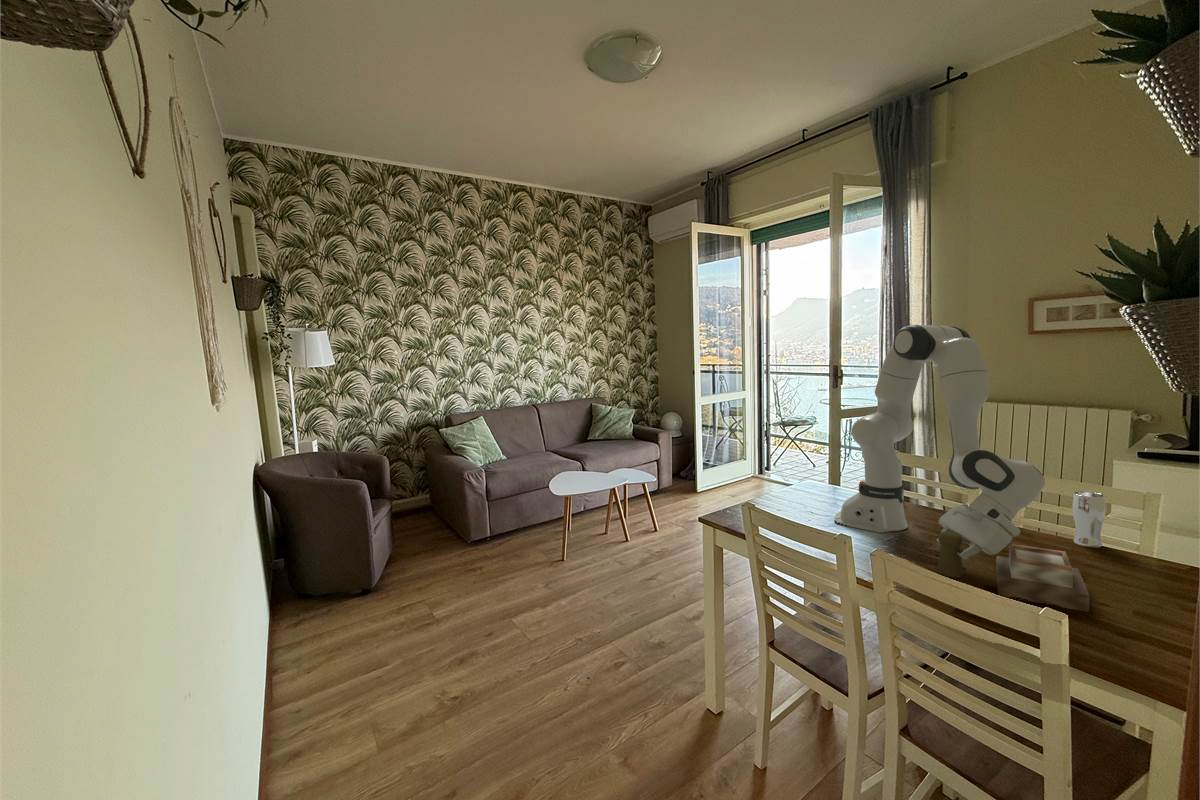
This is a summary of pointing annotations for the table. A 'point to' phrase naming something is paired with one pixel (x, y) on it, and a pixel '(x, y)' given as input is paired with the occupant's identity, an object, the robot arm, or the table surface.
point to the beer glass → (1088, 518)
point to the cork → (950, 554)
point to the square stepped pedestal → (1041, 577)
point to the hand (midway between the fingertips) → (949, 550)
